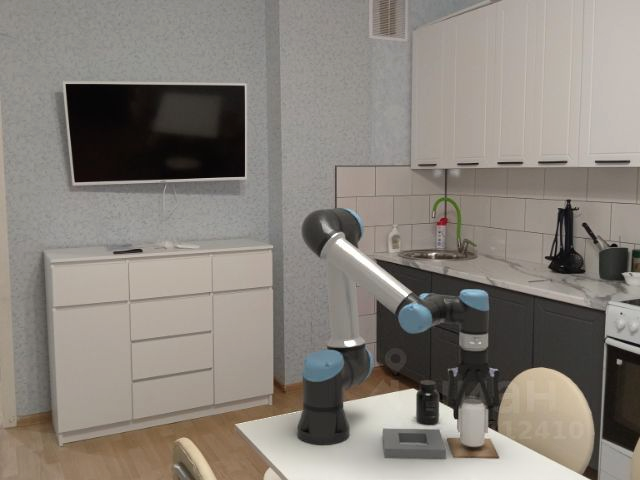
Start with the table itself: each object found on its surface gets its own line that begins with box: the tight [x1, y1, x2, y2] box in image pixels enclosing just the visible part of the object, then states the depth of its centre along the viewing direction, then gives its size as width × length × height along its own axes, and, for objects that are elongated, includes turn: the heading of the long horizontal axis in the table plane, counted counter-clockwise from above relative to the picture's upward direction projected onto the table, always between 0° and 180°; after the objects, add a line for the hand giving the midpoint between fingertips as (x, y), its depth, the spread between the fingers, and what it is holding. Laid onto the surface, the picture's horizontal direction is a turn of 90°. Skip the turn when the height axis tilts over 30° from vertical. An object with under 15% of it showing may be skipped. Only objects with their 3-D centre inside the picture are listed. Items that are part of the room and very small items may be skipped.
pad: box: [446, 437, 500, 459], centre depth 177 cm, size 12×12×1 cm
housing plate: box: [382, 428, 447, 460], centre depth 178 cm, size 16×14×2 cm
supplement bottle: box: [415, 379, 440, 426], centre depth 197 cm, size 7×7×12 cm
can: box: [459, 396, 486, 447], centre depth 176 cm, size 6×6×12 cm
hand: (472, 430), depth 177 cm, fingers closed on can, 6 cm apart
